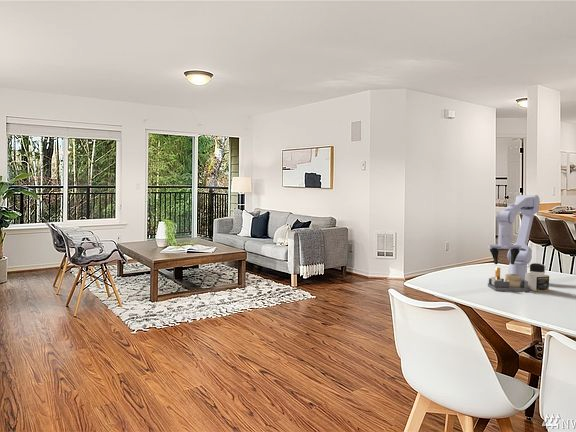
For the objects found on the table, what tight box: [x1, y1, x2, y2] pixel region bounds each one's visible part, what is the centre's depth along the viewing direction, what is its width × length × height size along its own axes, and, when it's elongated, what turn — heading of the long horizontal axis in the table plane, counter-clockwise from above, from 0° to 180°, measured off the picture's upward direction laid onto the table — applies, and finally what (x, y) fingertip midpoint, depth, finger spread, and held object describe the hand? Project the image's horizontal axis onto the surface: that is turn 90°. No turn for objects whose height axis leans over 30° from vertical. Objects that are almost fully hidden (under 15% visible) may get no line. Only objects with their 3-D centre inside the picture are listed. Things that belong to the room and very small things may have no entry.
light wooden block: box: [504, 273, 520, 287], centre depth 208 cm, size 4×5×5 cm
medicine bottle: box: [525, 262, 550, 293], centre depth 207 cm, size 7×7×12 cm
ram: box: [490, 267, 503, 285], centre depth 209 cm, size 5×3×8 cm, turn 175°
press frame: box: [487, 277, 530, 293], centre depth 209 cm, size 10×14×4 cm
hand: (504, 264), depth 215 cm, fingers open, 7 cm apart
